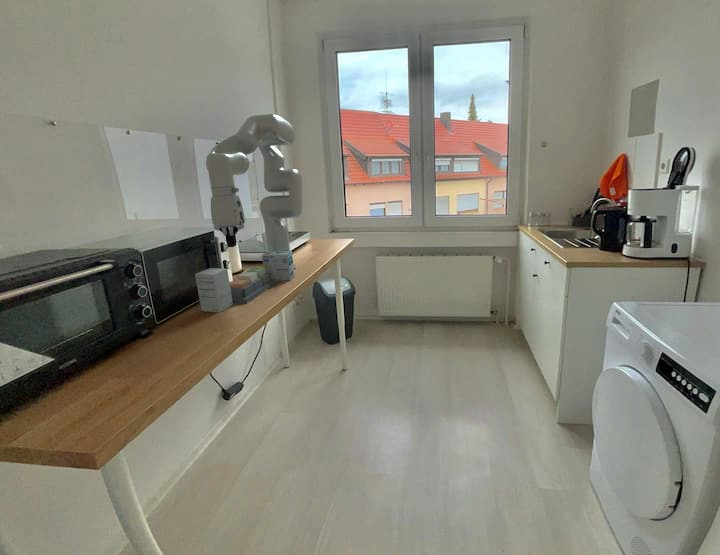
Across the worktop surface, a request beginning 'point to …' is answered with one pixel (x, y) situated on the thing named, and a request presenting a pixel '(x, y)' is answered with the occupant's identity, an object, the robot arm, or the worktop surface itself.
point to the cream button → (248, 276)
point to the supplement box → (214, 289)
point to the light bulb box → (279, 265)
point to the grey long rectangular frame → (252, 289)
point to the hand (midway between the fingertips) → (232, 246)
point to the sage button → (258, 271)
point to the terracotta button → (239, 284)
